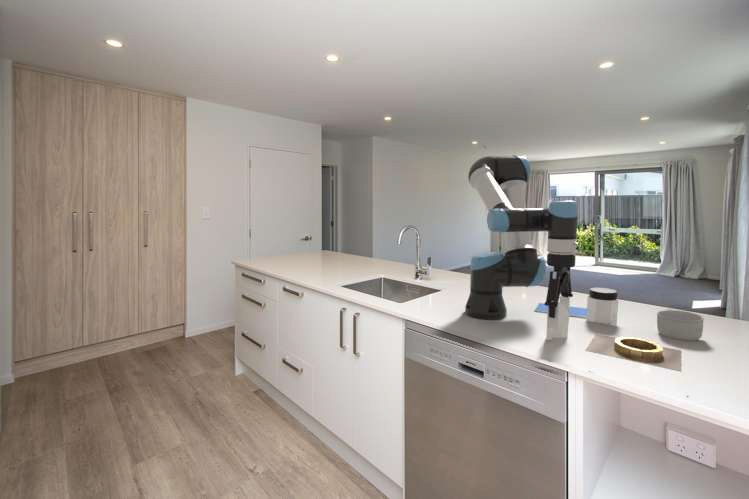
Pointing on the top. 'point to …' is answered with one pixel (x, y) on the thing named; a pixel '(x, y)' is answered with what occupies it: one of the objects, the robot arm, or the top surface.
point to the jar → (602, 306)
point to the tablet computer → (572, 310)
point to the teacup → (680, 324)
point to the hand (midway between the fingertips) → (558, 322)
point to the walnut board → (606, 347)
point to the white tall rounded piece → (559, 324)
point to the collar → (652, 353)
